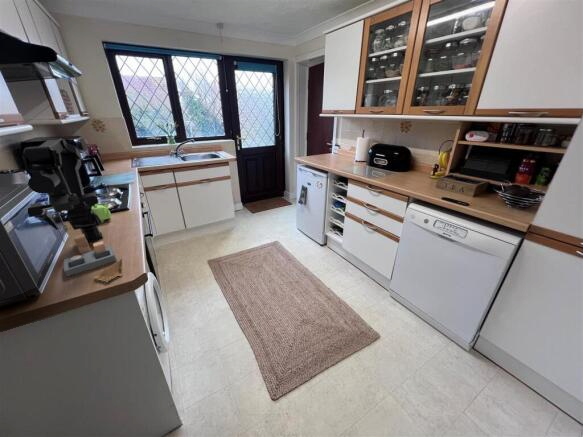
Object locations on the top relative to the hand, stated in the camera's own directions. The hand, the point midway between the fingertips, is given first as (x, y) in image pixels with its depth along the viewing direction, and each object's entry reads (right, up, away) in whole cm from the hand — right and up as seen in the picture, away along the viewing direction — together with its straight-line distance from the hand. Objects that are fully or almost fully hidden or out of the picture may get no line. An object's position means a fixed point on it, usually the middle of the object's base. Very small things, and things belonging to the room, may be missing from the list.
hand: (74, 225), depth 87 cm
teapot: (-18, +1, +33) cm, 38 cm away
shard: (+17, -17, -5) cm, 24 cm away
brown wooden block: (0, -11, +5) cm, 13 cm away
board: (+6, -14, 0) cm, 15 cm away
